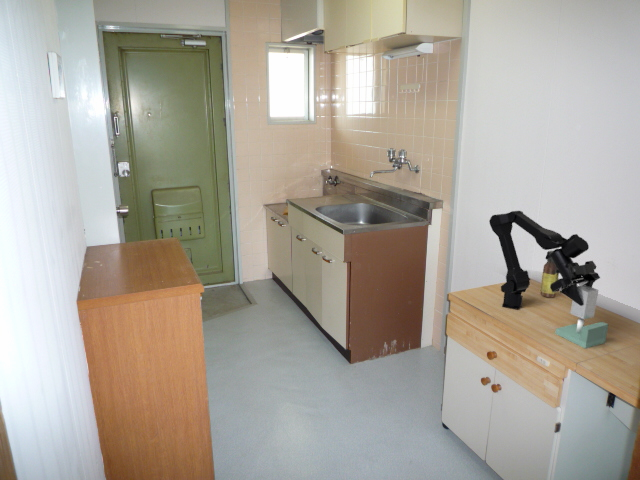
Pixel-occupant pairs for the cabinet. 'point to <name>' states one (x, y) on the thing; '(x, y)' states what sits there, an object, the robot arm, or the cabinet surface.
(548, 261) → the sauce bottle
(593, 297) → the gray upright column
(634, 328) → the cabinet surface
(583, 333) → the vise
